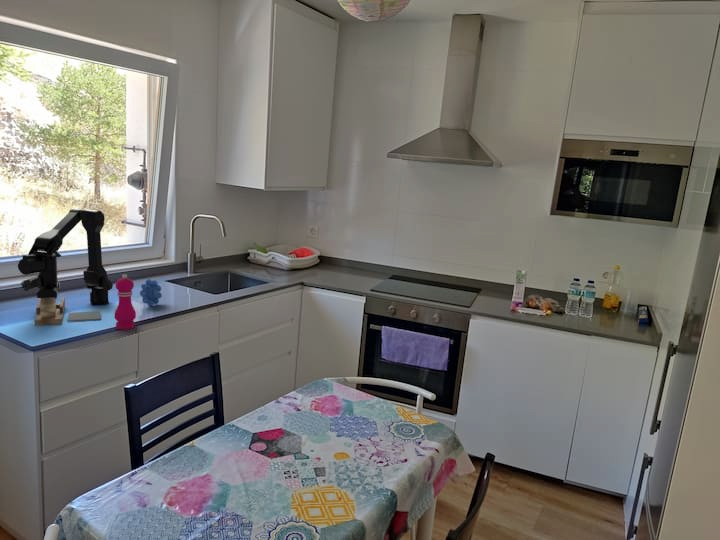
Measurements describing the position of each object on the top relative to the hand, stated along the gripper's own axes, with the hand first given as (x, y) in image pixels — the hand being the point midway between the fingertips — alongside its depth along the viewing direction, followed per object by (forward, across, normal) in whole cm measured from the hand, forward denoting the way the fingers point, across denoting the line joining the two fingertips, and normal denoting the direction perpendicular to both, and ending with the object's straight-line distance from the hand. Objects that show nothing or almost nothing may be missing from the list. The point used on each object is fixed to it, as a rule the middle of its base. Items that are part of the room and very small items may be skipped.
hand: (49, 311), depth 193 cm
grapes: (+3, -11, +37) cm, 39 cm away
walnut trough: (+3, -5, 0) cm, 6 cm away
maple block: (0, +3, 0) cm, 3 cm away
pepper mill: (+3, +17, +25) cm, 30 cm away
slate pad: (+3, 0, +12) cm, 12 cm away
